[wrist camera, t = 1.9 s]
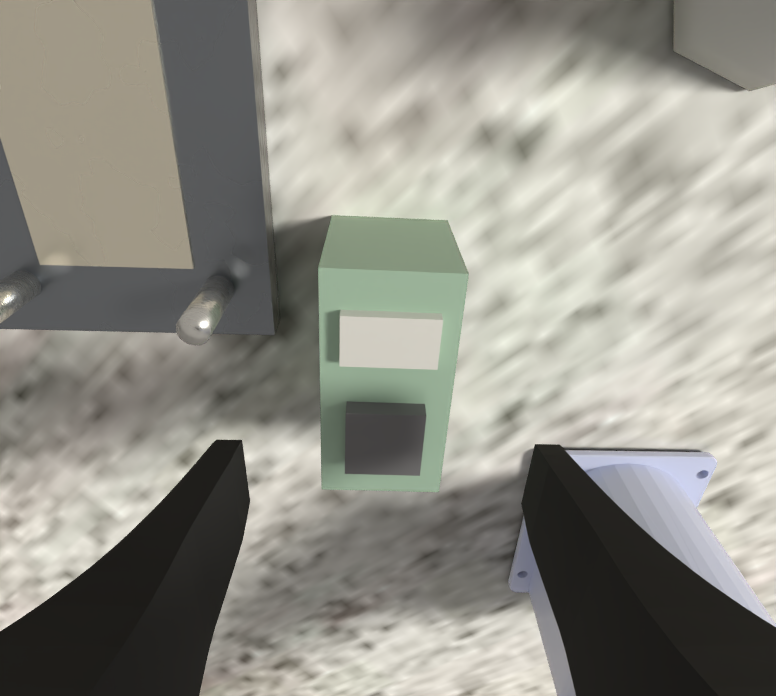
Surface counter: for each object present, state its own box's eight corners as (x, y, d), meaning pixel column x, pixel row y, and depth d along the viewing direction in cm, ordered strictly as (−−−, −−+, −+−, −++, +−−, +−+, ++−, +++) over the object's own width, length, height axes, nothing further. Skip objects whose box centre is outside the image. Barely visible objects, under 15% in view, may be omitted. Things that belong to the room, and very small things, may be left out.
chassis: (279, 319, 20) (258, 381, 16) (10, 313, 20) (-73, 374, 16) (242, -186, 13) (190, -274, 9) (-178, -210, 13) (-402, -311, 9)
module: (426, 405, 22) (440, 505, 18) (332, 402, 22) (319, 502, 17) (447, 219, 18) (472, 282, 14) (332, 214, 18) (315, 276, 13)
